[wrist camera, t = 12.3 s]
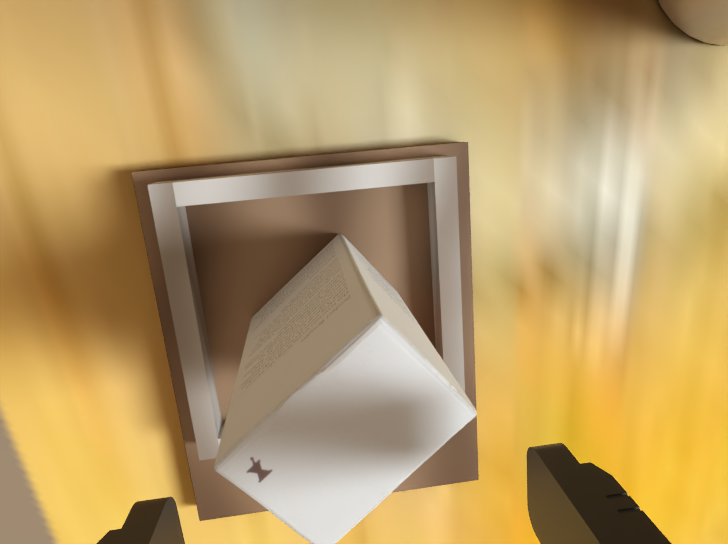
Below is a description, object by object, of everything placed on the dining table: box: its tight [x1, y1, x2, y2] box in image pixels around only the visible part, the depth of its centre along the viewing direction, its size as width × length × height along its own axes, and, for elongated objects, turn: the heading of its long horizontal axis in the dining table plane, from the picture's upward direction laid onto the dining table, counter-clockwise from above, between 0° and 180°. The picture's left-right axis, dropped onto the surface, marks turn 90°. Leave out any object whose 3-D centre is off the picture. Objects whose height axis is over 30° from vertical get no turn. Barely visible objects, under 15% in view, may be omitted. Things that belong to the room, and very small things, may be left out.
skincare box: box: [214, 234, 476, 544], centre depth 19 cm, size 6×4×12 cm
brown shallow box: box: [132, 142, 478, 521], centre depth 25 cm, size 15×18×3 cm
